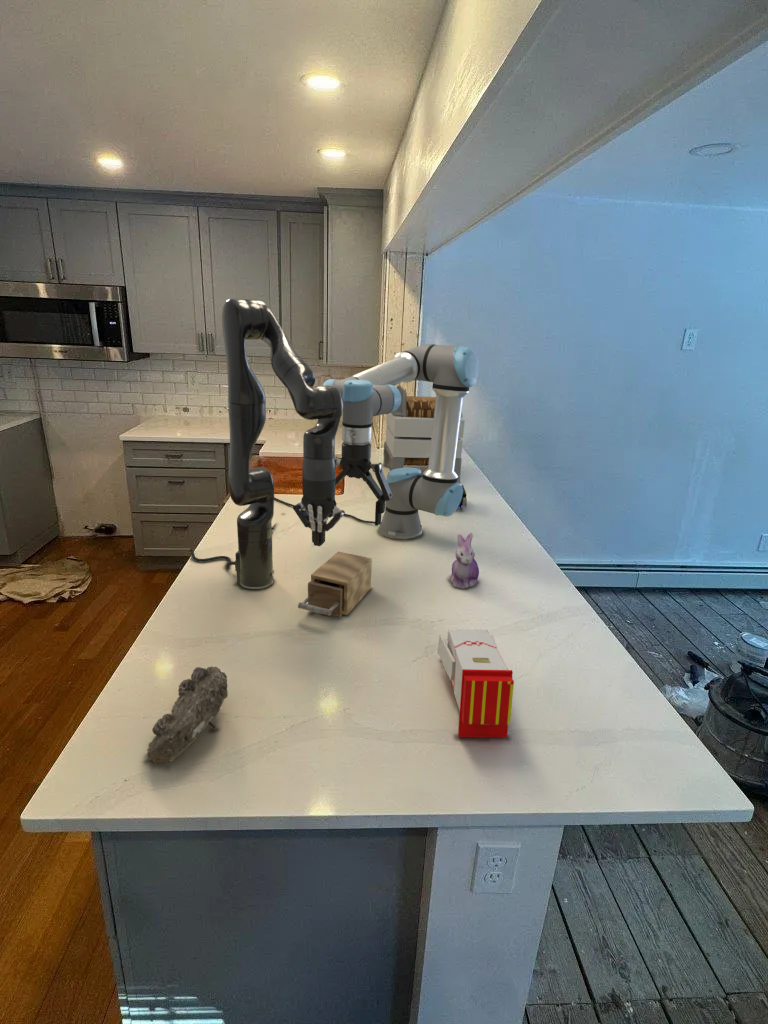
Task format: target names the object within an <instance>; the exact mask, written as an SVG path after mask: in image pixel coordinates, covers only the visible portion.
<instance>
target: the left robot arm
mask: <svg viewBox="0 0 768 1024" xmlns="http://www.w3.org/2000/svg"><path fill="white" fill-rule="evenodd" d="M221 325H222V335H223V342H224V352H225V360H226V370H227V371H226V372H227V404H228V405H227V409H228V424H229V459H228V460H229V462H228V479H227V481H228V483H227V484H228V485H227V486H228V492H229V493H228V494H229V497H230V499H231V501H232V502H233V503H234V505H236V506H238V507H244V506H248V507H247V508H246V509H245V510H243V511H242V512H240V513H239V515H237V517H236V530H237V531H236V532H237V549H238V550H237V551H236V552H235V561H232V560H231V559H232V558H230V557H229V556H227V555H217V556H213V557H206V558H198V557H196V556H195V549H194V547H190V549H189V552H190V555H191V558H192V560H194V561H196V562H199V563H205V562H210V561H215V560H227V562H226V565H225V568H226V569H229V568H230V566H234V570H235V573H236V574H235V575H236V584H237V585H240V586H241V587H242V588H244V589H247V590H262V589H266V588H268V587H270V586H271V585H273V583H274V574H275V569H274V561H273V560H274V558H273V530H272V527H273V525H272V523H273V519H274V515H275V514H274V513H275V499H274V497H275V482H274V477H273V475H272V473H271V472H270V470H269V469H267V467H264V466H258V467H251V468H250V461H251V456H252V452H253V449H254V447H255V445H256V443H257V441H258V439H259V437H260V436H261V434H262V431H263V430H264V427H265V425H266V421H267V400H266V399H267V397H266V393H265V391H264V388H263V386H262V384H261V383H260V380H259V379H258V377H257V376H256V375H255V373H254V371H253V369H252V367H251V366H250V363H249V360H248V357H247V349H246V340H248V341H249V340H250V341H251V340H252V341H253V340H255V341H256V340H261V341H262V342H264V343H265V344H266V345H267V346H268V347H269V348H270V360H269V361H270V365H271V369H272V371H273V372H274V373H273V374H275V375H276V377H277V378H278V380H279V381H280V382H281V383H282V385H284V387H285V388H286V389H287V392H288V394H289V397H290V399H291V402H292V405H293V407H294V410H295V411H296V414H298V416H299V417H301V418H303V419H305V420H306V421H314V420H317V422H316V424H315V425H314V426H313V427H311V428H309V429H307V430H305V432H304V433H303V437H302V439H303V440H302V443H303V444H302V446H303V447H302V448H303V449H302V452H303V453H302V455H303V456H302V467H301V470H302V471H301V472H302V473H301V476H302V477H301V478H302V481H301V483H302V484H301V486H302V489H301V490H302V492H301V493H302V497H301V500H300V502H298V503H296V504H294V505H295V506H293V507H292V510H293V511H294V513H295V514H296V515H297V517H298V519H299V520H300V522H301V524H302V525H303V526H304V527H305V528H308V529H310V530H311V542H312V543H313V546H315V547H322V546H323V545H324V543H326V532H329V531H330V530H331V529H333V528H334V527H335V526H336V525H337V524H338V522H339V521H340V520H341V519H342V518H343V517H344V514H346V511H345V510H343V509H340V508H339V507H338V506H337V501H336V487H335V479H336V477H337V476H336V475H337V472H336V469H337V467H335V457H336V455H335V454H336V453H335V451H336V450H335V449H336V446H335V445H336V441H335V440H336V435H337V433H338V429H339V425H340V422H341V418H342V416H343V399H342V396H341V393H340V392H339V390H338V389H337V388H336V387H334V386H330V385H328V386H323V385H317V386H315V384H316V374H315V372H314V371H313V369H312V368H311V367H310V366H309V364H308V363H307V361H305V360H304V359H303V357H301V355H300V354H299V353H298V351H297V350H296V349H295V347H294V346H293V345H292V343H291V341H290V339H289V338H288V336H287V334H286V332H285V331H284V329H283V327H282V326H281V323H280V322H279V320H278V319H277V317H276V315H275V313H274V311H273V310H272V309H271V308H270V306H269V305H268V304H267V303H266V302H265V301H263V300H260V299H253V298H252V299H251V298H228V299H226V300H225V302H224V303H223V307H222V311H221ZM332 511H333V514H332V517H331V519H330V520H329V517H328V516H329V515H330V513H331V512H332ZM328 520H329V521H328Z"/></svg>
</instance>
